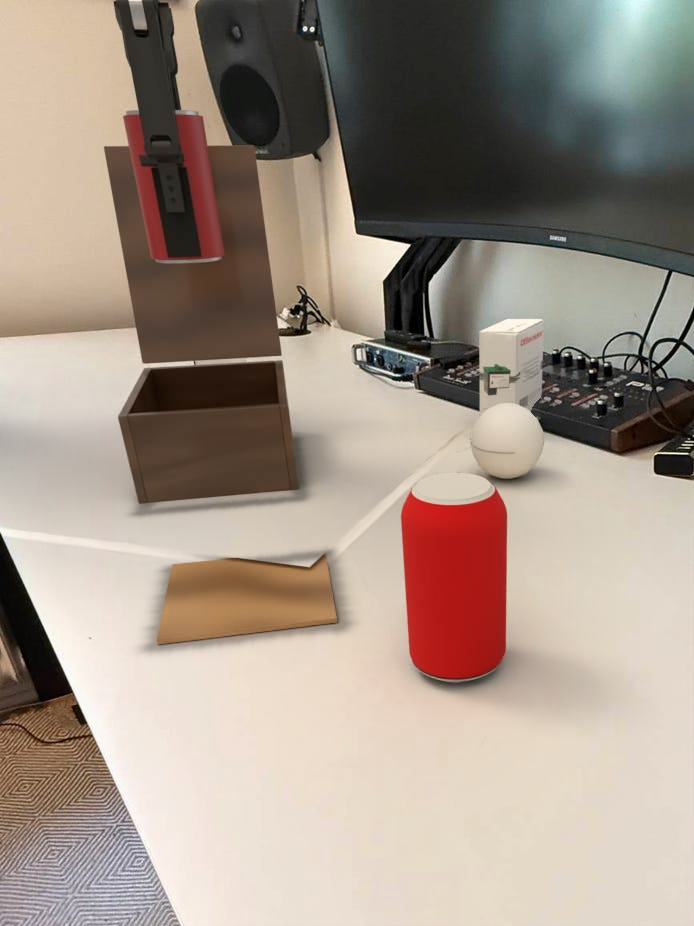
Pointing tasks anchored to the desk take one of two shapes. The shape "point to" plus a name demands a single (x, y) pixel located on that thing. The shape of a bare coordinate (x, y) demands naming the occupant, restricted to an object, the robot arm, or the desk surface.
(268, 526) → the desk surface
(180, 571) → the mat
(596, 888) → the desk surface
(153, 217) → the can
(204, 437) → the chest
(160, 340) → the lid
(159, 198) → the robot arm
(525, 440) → the white ball
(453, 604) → the beverage can
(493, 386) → the ink box
